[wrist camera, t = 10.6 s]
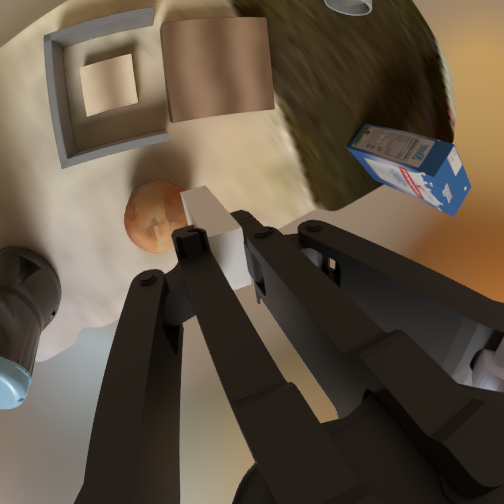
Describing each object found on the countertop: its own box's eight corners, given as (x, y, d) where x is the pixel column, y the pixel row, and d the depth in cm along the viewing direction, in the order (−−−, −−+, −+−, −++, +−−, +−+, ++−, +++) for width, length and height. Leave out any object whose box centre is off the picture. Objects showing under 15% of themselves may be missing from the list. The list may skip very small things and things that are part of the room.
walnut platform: (170, 121, 38) (173, 122, 35) (160, 30, 31) (161, 23, 28) (263, 108, 42) (274, 109, 38) (255, 23, 35) (266, 17, 32)
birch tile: (90, 116, 34) (86, 116, 31) (83, 70, 30) (79, 68, 28) (138, 103, 36) (137, 102, 33) (131, 57, 32) (131, 53, 30)
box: (71, 161, 35) (61, 169, 30) (55, 44, 26) (43, 35, 21) (165, 136, 39) (169, 140, 34) (151, 19, 30) (153, 6, 25)
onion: (164, 247, 46) (171, 280, 38) (112, 214, 41) (106, 242, 33) (202, 199, 45) (218, 223, 37) (150, 161, 40) (153, 175, 32)
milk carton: (346, 147, 50) (434, 177, 33) (364, 123, 48) (454, 144, 32) (374, 179, 55) (453, 217, 38) (390, 157, 54) (471, 187, 37)
